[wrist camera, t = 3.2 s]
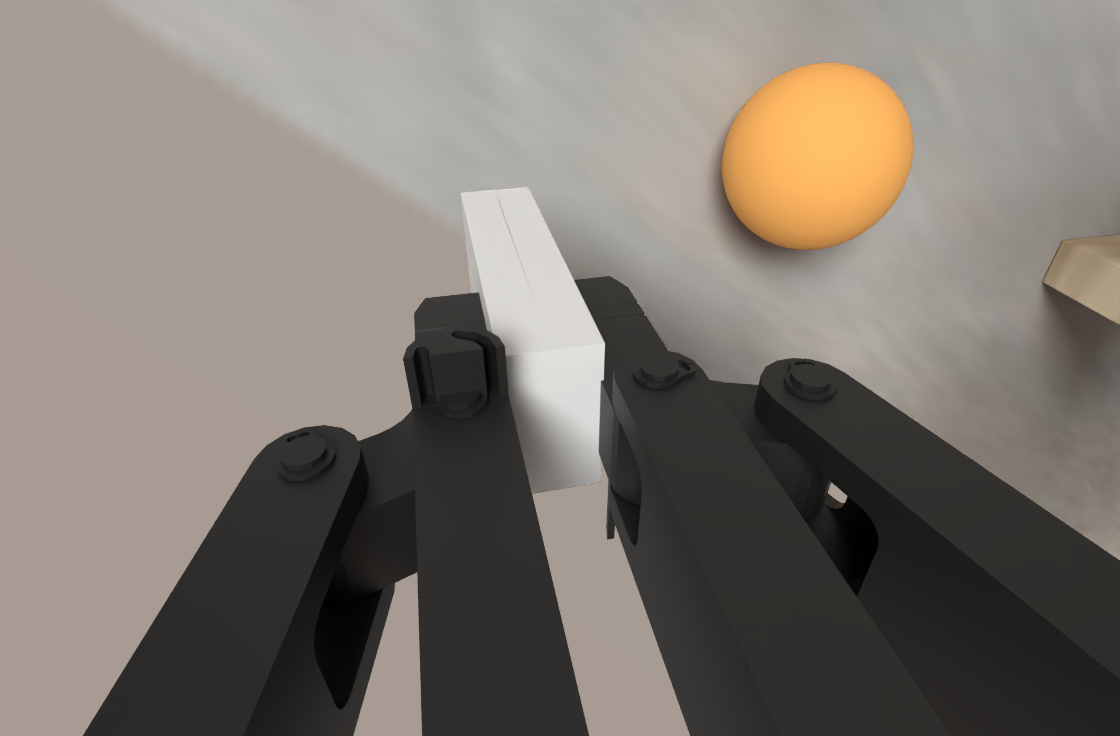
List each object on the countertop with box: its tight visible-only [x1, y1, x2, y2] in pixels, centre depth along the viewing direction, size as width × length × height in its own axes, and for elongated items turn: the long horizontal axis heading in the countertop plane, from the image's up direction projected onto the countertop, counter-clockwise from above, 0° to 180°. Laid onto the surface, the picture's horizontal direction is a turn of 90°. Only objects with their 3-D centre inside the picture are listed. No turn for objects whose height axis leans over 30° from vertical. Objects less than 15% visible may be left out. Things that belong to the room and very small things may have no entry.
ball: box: [722, 63, 913, 250], centre depth 20 cm, size 6×6×6 cm
